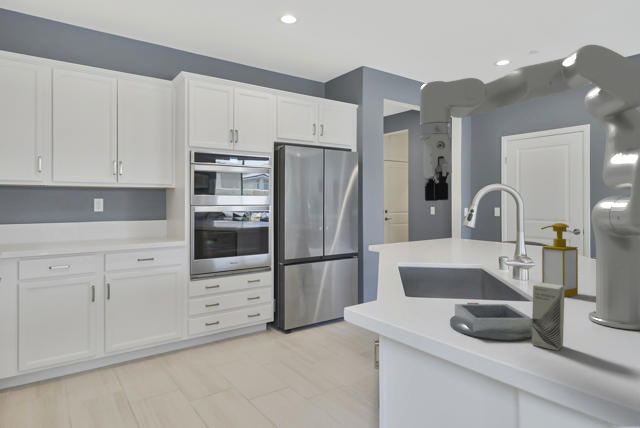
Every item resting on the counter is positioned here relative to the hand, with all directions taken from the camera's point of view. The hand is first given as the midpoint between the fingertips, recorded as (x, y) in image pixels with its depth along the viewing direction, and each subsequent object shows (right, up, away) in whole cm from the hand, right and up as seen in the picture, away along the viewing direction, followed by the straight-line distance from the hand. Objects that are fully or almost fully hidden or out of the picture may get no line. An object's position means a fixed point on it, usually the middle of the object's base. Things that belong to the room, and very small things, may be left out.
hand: (436, 200), depth 96 cm
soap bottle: (+48, -30, +29) cm, 63 cm away
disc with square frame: (+12, -31, -2) cm, 34 cm away
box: (+19, -32, -16) cm, 40 cm away
